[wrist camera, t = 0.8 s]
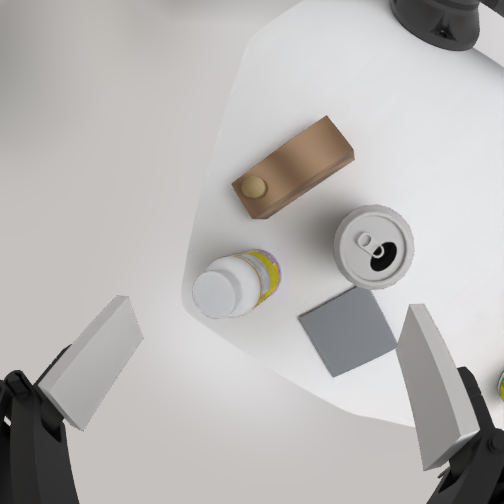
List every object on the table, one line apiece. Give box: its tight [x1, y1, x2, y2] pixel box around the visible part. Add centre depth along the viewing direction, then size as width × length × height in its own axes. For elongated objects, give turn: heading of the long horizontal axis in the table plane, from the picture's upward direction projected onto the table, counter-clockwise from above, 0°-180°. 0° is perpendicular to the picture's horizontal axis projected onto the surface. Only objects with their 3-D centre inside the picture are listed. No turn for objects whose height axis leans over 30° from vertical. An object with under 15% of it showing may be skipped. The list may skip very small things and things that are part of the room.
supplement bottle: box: [193, 250, 281, 319], centre depth 32 cm, size 7×7×13 cm
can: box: [333, 205, 414, 290], centre depth 26 cm, size 8×8×12 cm
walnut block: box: [231, 116, 355, 219], centre depth 31 cm, size 14×5×7 cm, turn 124°
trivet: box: [299, 286, 398, 377], centre depth 33 cm, size 10×10×1 cm
